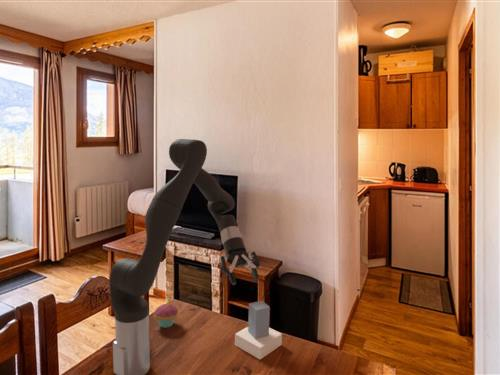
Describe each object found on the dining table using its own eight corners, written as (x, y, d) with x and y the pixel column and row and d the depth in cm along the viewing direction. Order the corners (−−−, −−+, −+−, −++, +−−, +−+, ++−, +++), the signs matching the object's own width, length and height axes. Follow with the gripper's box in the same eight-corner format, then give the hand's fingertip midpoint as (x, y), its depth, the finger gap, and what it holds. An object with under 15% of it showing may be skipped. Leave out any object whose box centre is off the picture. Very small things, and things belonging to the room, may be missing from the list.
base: (259, 359, 109) (260, 347, 108) (234, 344, 116) (235, 333, 115) (281, 344, 117) (281, 333, 116) (256, 331, 124) (256, 321, 123)
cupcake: (164, 316, 133) (164, 286, 131) (183, 321, 129) (183, 291, 127) (149, 326, 125) (148, 295, 123) (168, 333, 122) (167, 300, 120)
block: (255, 339, 112) (256, 310, 111) (248, 331, 117) (248, 303, 115) (268, 335, 115) (269, 307, 113) (261, 328, 119) (262, 300, 118)
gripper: (217, 238, 125) (230, 281, 117) (253, 234, 131) (267, 274, 123) (212, 248, 130) (223, 289, 122) (246, 243, 137) (259, 282, 129)
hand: (245, 282), depth 123 cm, fingers open, 8 cm apart
